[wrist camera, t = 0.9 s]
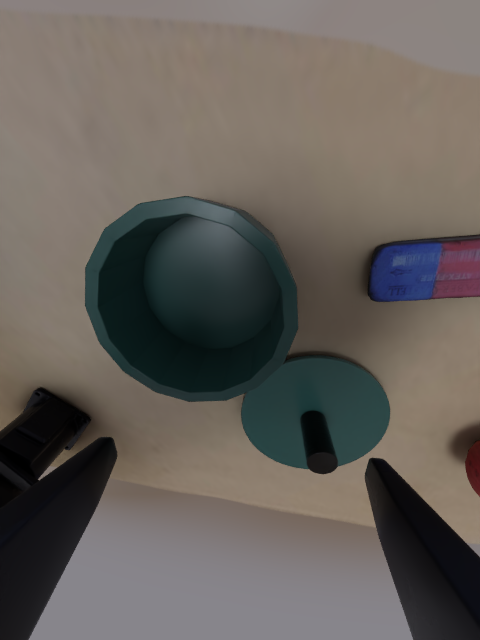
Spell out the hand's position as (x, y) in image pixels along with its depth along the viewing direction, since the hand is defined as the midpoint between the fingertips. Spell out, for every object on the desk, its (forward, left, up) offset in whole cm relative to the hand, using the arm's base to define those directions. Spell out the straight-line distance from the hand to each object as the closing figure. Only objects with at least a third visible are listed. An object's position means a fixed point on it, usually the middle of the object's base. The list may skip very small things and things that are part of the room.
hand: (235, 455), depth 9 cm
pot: (0, +4, -14) cm, 14 cm away
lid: (-4, -11, -13) cm, 17 cm away
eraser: (+12, -8, -14) cm, 20 cm away
